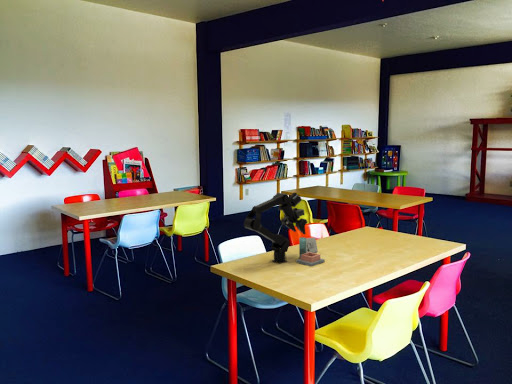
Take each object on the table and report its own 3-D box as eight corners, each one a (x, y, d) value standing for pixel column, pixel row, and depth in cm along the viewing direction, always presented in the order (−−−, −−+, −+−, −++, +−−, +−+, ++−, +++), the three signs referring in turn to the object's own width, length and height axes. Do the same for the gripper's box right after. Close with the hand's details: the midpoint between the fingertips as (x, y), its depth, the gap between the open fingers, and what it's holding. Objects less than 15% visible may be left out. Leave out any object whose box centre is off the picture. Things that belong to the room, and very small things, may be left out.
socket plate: (311, 266, 245) (311, 258, 245) (296, 262, 253) (296, 254, 253) (324, 261, 254) (324, 254, 253) (309, 258, 261) (309, 250, 261)
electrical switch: (305, 254, 270) (304, 239, 270) (300, 253, 275) (299, 238, 274) (317, 252, 274) (317, 237, 274) (313, 251, 279) (312, 236, 278)
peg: (303, 259, 260) (303, 239, 258) (297, 257, 263) (298, 238, 261) (307, 257, 263) (307, 238, 261) (302, 256, 265) (302, 237, 264)
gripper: (308, 205, 251) (319, 226, 257) (288, 202, 267) (299, 222, 273) (294, 217, 247) (306, 238, 252) (276, 213, 263) (287, 233, 268)
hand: (300, 232), depth 262 cm, fingers open, 9 cm apart
